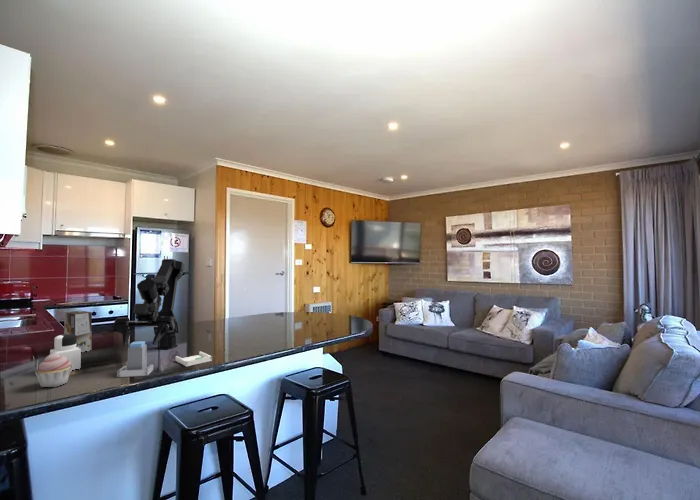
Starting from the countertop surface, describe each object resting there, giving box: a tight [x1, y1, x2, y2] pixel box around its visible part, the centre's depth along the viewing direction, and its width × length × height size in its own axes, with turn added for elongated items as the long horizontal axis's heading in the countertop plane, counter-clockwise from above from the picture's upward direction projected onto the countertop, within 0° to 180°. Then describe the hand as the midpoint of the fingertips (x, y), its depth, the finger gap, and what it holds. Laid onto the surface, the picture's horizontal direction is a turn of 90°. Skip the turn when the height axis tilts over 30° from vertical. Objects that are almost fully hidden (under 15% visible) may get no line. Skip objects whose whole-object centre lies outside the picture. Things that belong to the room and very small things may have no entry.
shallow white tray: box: [116, 363, 154, 378], centre depth 121 cm, size 6×9×2 cm, turn 101°
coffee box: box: [63, 310, 93, 353], centre depth 149 cm, size 9×6×16 cm
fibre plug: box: [127, 340, 148, 370], centre depth 123 cm, size 4×4×10 cm
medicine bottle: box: [49, 333, 82, 371], centre depth 125 cm, size 7×7×12 cm
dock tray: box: [175, 351, 213, 367], centre depth 136 cm, size 10×10×2 cm
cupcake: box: [34, 352, 73, 388], centre depth 111 cm, size 9×9×10 cm
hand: (138, 345), depth 124 cm, fingers open, 9 cm apart
